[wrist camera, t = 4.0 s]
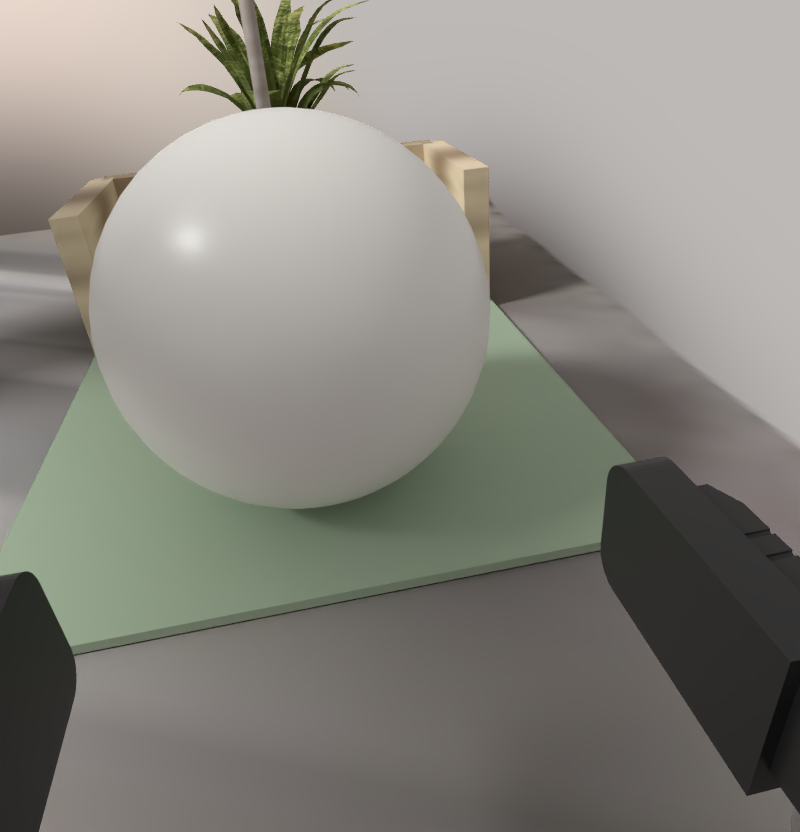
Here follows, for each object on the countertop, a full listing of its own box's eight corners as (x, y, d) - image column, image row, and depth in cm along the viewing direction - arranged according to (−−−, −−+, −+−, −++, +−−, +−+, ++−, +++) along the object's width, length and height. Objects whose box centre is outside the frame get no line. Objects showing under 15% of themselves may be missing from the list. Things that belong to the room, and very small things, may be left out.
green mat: (691, 532, 19) (692, 523, 19) (-53, 679, 16) (-58, 671, 16) (444, 252, 43) (444, 247, 42) (127, 294, 40) (126, 289, 40)
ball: (267, 668, 15) (135, 173, 10) (100, 476, 23) (-30, 131, 17) (563, 466, 21) (586, 84, 16) (354, 365, 29) (318, 81, 23)
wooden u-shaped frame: (489, 300, 34) (485, -229, 24) (95, 357, 32) (-97, -205, 21) (439, 243, 43) (420, -157, 33) (130, 285, 41) (7, -134, 31)
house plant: (401, 244, 45) (378, -52, 36) (193, 265, 44) (122, -30, 36) (384, 197, 57) (365, -32, 49) (222, 213, 56) (174, -16, 48)
